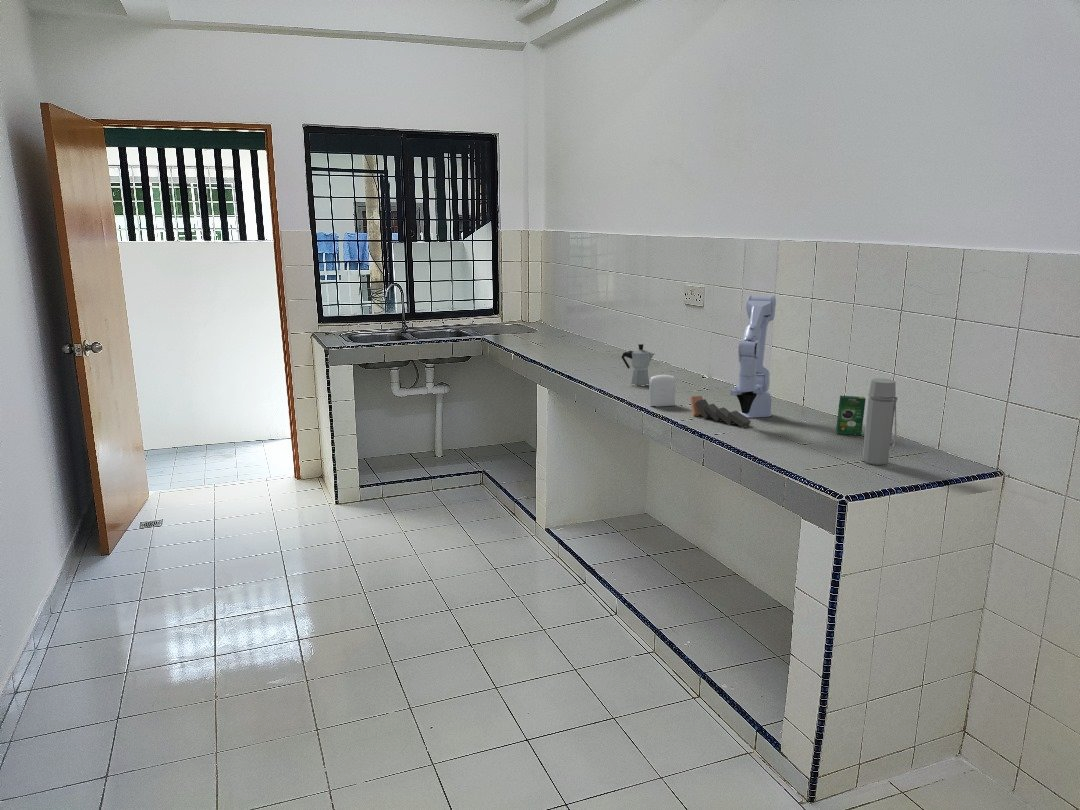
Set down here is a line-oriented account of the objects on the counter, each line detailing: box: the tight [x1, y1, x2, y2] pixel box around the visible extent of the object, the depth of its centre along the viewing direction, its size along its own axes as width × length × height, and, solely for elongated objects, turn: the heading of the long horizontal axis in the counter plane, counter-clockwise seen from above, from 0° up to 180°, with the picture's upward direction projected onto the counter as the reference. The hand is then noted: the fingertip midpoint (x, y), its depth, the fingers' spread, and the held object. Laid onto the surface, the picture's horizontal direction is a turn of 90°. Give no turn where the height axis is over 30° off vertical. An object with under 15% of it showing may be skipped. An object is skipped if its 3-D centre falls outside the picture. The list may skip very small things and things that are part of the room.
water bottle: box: [862, 378, 898, 466], centre depth 227 cm, size 9×8×25 cm
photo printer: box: [648, 374, 676, 407], centre depth 301 cm, size 10×4×12 cm, turn 96°
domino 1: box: [695, 398, 713, 420], centre depth 283 cm, size 2×4×7 cm
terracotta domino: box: [689, 395, 704, 417], centre depth 287 cm, size 2×4×7 cm
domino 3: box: [715, 406, 736, 425], centre depth 276 cm, size 2×4×7 cm
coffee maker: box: [621, 343, 655, 385], centre depth 340 cm, size 15×9×18 cm, turn 84°
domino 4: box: [728, 410, 751, 428], centre depth 272 cm, size 2×4×7 cm
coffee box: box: [835, 395, 866, 436], centre depth 259 cm, size 8×3×13 cm, turn 77°
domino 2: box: [704, 403, 724, 422], centre depth 280 cm, size 2×4×7 cm
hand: (745, 413), depth 270 cm, fingers closed
